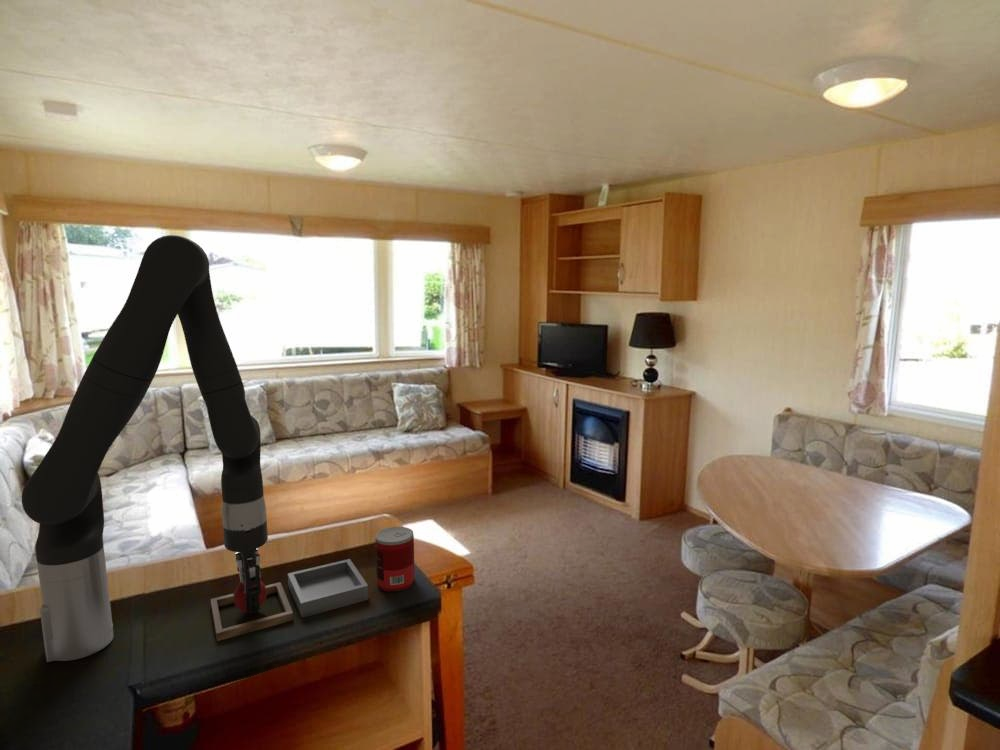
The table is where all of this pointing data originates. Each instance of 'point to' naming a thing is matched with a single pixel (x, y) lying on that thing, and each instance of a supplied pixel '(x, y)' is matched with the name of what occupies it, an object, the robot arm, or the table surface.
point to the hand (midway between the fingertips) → (250, 603)
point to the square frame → (250, 625)
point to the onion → (241, 600)
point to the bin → (327, 587)
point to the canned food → (394, 558)
